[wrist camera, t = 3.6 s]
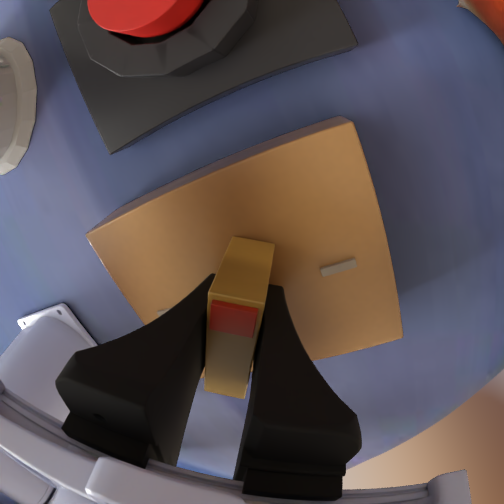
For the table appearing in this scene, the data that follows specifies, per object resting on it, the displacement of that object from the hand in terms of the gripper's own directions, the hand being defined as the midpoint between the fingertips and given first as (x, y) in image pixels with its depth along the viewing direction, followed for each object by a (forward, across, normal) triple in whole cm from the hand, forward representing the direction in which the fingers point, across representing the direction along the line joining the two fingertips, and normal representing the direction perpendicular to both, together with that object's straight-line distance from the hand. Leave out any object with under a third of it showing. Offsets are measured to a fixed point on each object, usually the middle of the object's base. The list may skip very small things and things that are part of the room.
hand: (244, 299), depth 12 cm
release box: (+3, +4, -11) cm, 13 cm away
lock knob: (0, 0, 0) cm, 0 cm away
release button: (0, +4, -11) cm, 12 cm away
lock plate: (+3, 0, 0) cm, 3 cm away
